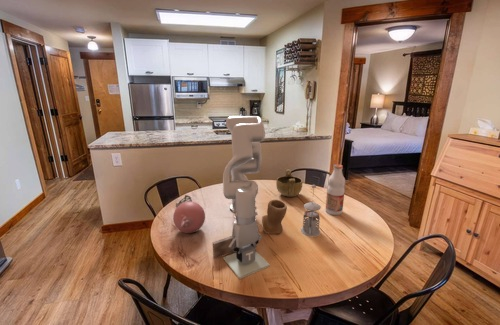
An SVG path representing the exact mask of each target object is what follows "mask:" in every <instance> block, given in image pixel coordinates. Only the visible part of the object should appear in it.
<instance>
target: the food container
mask: <svg viewBox="0 0 500 325" xmlns="http://www.w3.org/2000/svg"><path fill="white" fill-rule="evenodd" d="M188 201H192V202H193V199H192V197H191V196H190V195H187V194H185V195H184V197H183V198H181V199H180V200H179V202H178V203H177V202H176V203H175V208H177V207H178V206H179V205H180V204H182V203H184V202H188Z"/></svg>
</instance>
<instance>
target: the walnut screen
mask: <svg viewBox="0 0 500 325" xmlns="http://www.w3.org/2000/svg"><path fill="white" fill-rule="evenodd" d="M231 242H232V235H231V236H226V237H224V238H221V239H218V240H215V241H212V257H213V258H214V259H217V258H220V257H222V256H223V257H224V256H225V255H226V256H227V255H228V254H231V253H235V251H234V250H232V249H230V248H229V245H230V243H231ZM234 246H235V247H236V244H235V245H234Z"/></svg>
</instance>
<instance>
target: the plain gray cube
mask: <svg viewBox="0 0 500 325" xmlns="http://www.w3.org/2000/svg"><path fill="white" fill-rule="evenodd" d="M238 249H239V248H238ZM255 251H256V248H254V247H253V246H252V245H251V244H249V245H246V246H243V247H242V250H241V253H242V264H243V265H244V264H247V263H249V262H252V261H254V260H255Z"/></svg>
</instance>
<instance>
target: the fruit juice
mask: <svg viewBox="0 0 500 325" xmlns="http://www.w3.org/2000/svg"><path fill="white" fill-rule="evenodd" d="M332 166H333V171H332V173H331V174H330V175H329V176H328V180H327V182H328V185H327V189H326V196H325V197H326V198H325V199H326V200H325V209H324V210H325V212H326V213H327V214H329V215H332V216H333V215H334V216H339V215H342V213H343V209H344V208H343V207H344V199H345V192H346V191H345V186H346V178H345V177H344V174H343V168H344V167H343V166H344V165H343V164H338V163H337V164H333V165H332Z"/></svg>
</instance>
